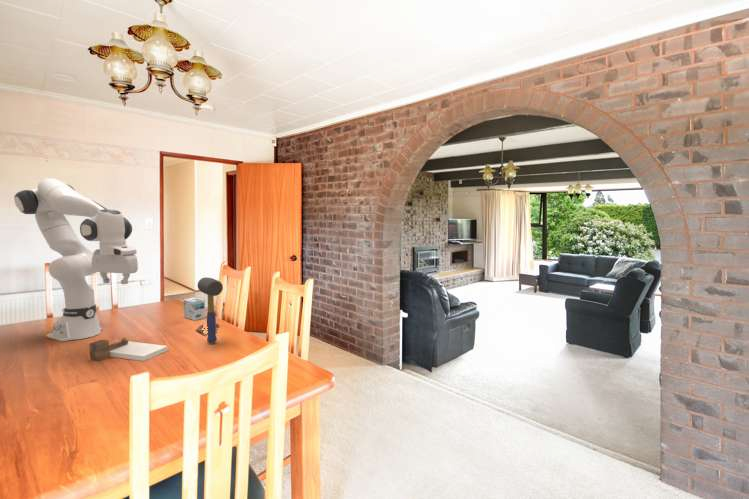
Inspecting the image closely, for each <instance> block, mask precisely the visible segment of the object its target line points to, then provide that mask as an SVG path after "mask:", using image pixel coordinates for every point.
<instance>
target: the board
mask: <svg viewBox="0 0 749 499" xmlns="http://www.w3.org/2000/svg"><path fill="white" fill-rule="evenodd" d="M168 348H169V347H168V345H161V344H153V343H147V342H146V343H145V342H139V341H137V342H136V341H130V340H128V344H126V345H123V346H120V347H118V348H115V349H112V350H110V351H109V358H119V359H126V360H131V361H132V360H133V361H140V362H141V361H142V362H146V361H148V360H150V359H152V358H154V357H156V356H158V355H161V354H163V353H165V352H167V351H169V349H168Z"/></svg>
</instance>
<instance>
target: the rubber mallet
mask: <svg viewBox="0 0 749 499" xmlns="http://www.w3.org/2000/svg"><path fill="white" fill-rule="evenodd" d="M223 288H224V287H223V283H222V282H221V281H220V280H217V279H215V278H213V277H206V276H205V277H202V278H200V279H199V281H198V283H197V289H198V290H199V291H200V292H201V293H202V294H205V295H206V296H207V313H206V322H207V327H208V336H207V339H206V340H207V343H208V344H211V345H212V344H215V343H216V342H217V340H218V339H217V333H216V331H215V326H216V323H217V318H216V313H215V302H214V300H215V299H214V297H215V296H218V295H220V294H221V293H222V292H223Z"/></svg>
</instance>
